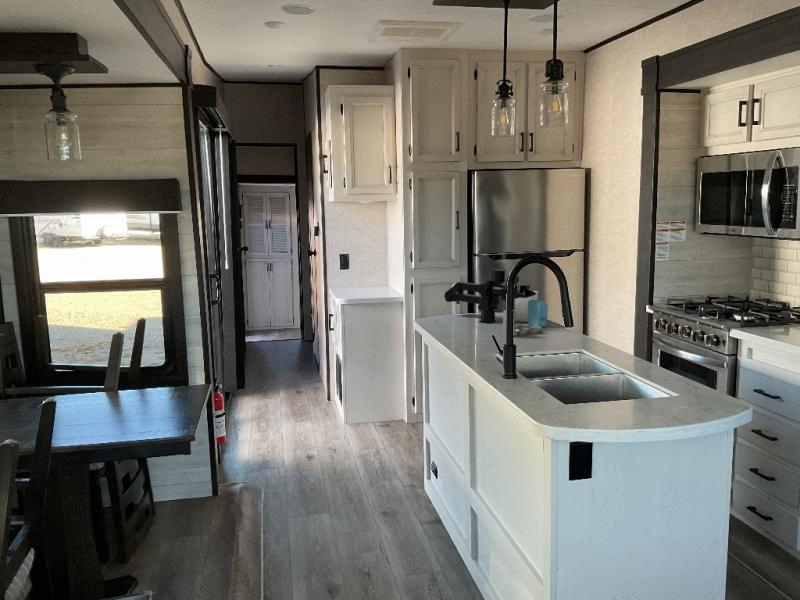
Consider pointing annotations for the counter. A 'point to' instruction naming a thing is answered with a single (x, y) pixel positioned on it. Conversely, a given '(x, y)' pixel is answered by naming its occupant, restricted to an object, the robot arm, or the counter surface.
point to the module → (505, 323)
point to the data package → (537, 313)
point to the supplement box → (523, 307)
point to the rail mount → (527, 329)
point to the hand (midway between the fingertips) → (529, 294)
